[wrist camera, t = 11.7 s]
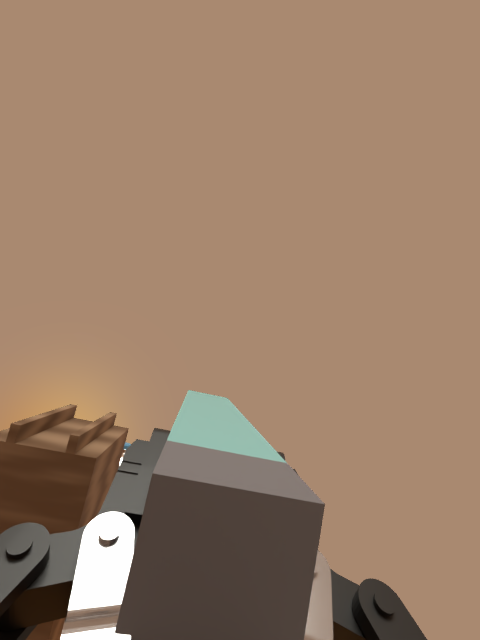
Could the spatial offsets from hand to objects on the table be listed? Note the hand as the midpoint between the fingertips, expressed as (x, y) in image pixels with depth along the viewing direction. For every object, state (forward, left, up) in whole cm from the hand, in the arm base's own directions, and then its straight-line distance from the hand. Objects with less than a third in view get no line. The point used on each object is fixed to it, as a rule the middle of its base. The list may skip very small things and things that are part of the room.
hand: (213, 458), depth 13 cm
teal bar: (0, +6, -4) cm, 7 cm away
